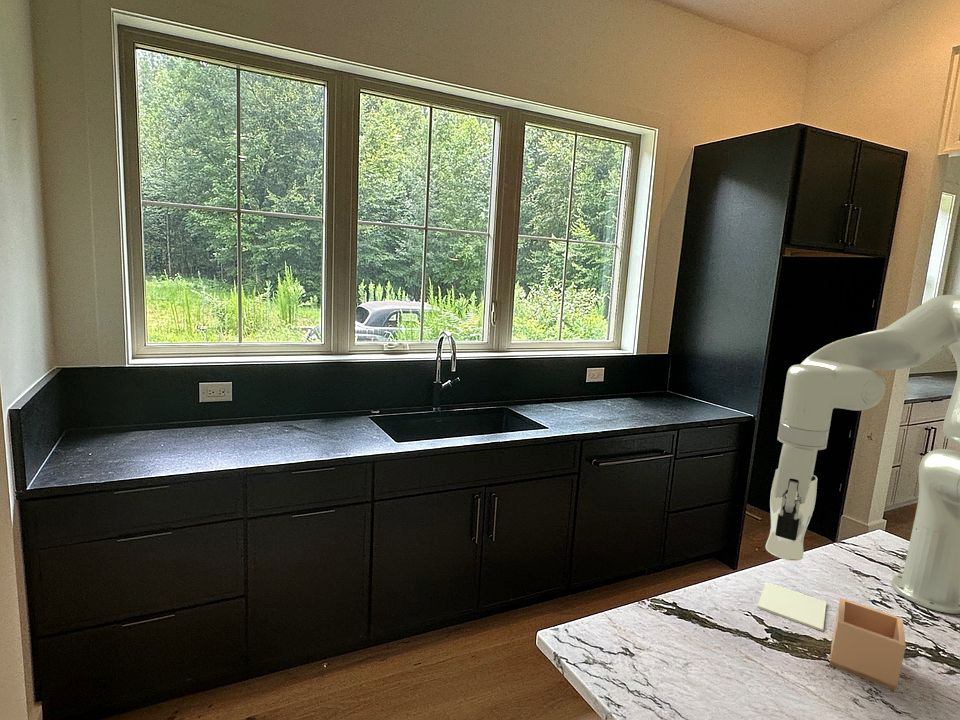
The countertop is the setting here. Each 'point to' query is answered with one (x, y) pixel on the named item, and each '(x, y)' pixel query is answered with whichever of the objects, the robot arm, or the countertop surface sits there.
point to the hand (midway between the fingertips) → (787, 529)
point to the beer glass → (795, 548)
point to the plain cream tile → (793, 605)
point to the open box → (868, 643)
